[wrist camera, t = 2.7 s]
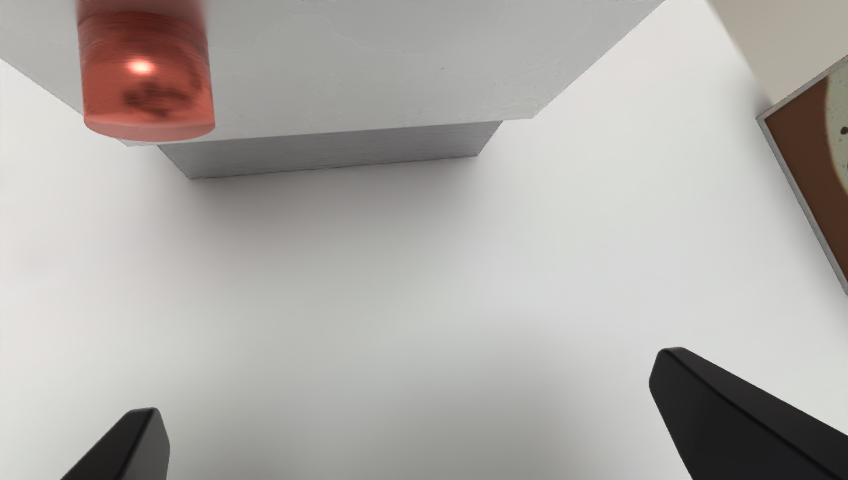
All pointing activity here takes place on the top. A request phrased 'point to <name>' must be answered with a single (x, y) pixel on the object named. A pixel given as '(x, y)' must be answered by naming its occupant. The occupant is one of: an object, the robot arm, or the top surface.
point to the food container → (817, 156)
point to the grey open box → (328, 149)
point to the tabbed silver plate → (305, 61)
